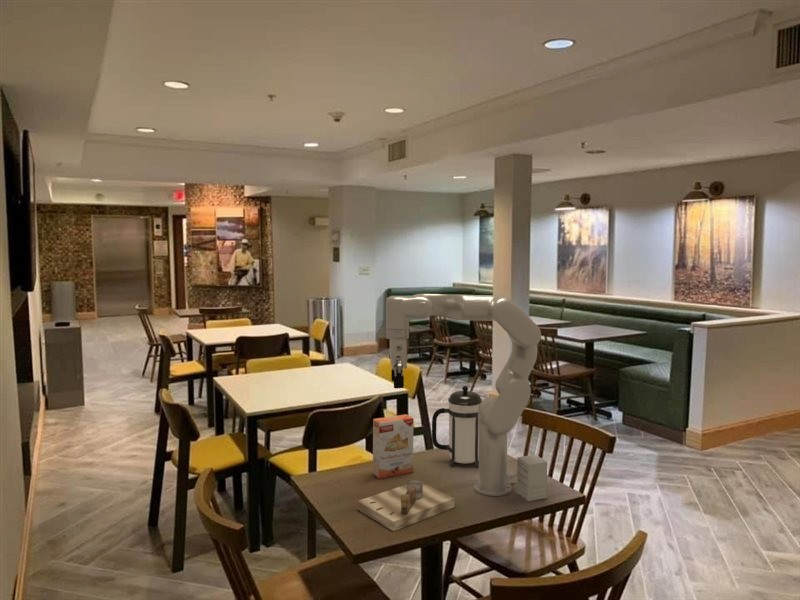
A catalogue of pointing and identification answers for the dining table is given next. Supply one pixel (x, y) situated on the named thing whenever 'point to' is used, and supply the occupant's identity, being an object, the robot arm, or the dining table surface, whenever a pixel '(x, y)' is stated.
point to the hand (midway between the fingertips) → (397, 384)
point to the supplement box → (532, 477)
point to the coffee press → (461, 427)
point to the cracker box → (392, 446)
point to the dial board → (389, 506)
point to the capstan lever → (411, 495)
